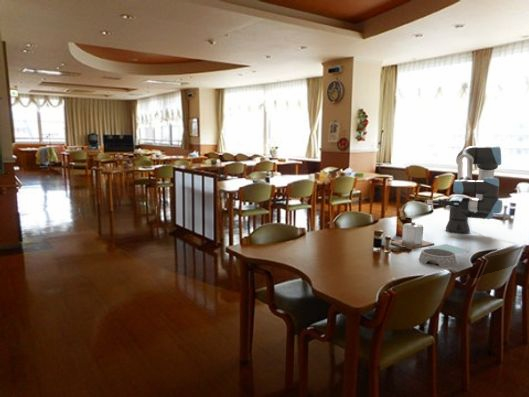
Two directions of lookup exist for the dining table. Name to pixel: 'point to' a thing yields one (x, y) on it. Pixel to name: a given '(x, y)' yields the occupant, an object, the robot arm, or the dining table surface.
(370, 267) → the dining table surface
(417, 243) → the steel cover
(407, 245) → the walnut board
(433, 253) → the dog bowl
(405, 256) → the dining table surface
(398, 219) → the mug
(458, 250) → the teal mat
